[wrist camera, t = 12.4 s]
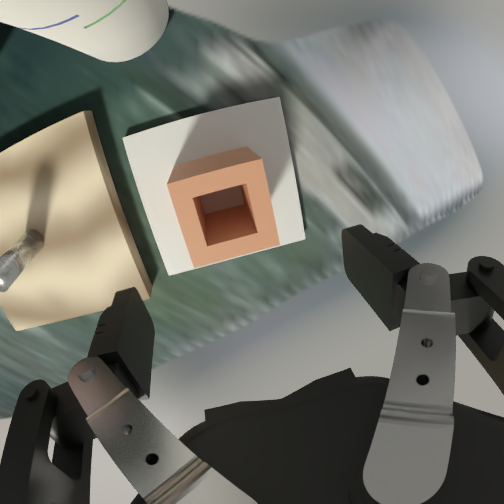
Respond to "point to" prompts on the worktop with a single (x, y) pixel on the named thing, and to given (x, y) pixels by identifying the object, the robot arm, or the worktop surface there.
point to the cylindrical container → (92, 24)
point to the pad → (205, 144)
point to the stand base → (65, 226)
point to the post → (19, 257)
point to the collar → (228, 220)
